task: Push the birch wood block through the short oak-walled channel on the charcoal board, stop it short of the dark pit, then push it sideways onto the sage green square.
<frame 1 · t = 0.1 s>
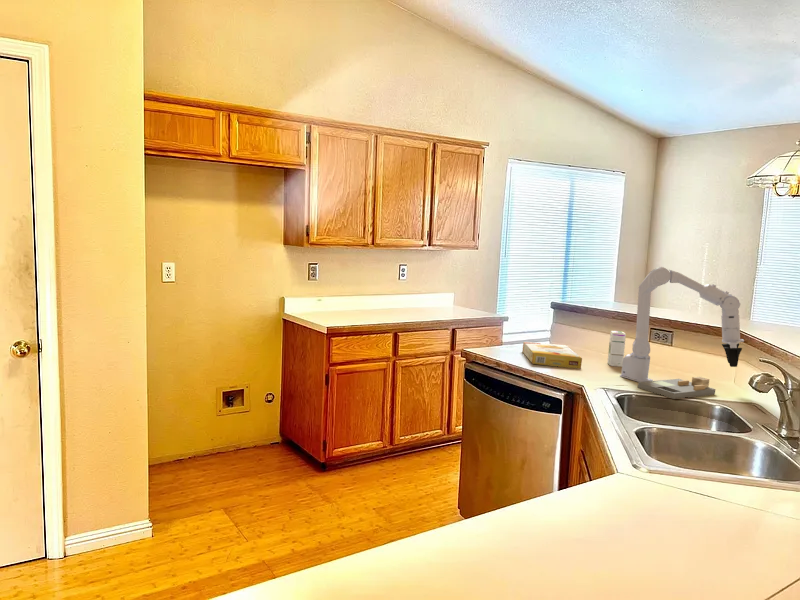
hand: (732, 364, 216), 10 cm above the worktop, tool pointing down, fingers open, 7 cm apart
route board: (676, 391, 213), on the worktop
cereal box: (549, 361, 256), on the worktop
syrup box: (614, 365, 253), on the worktop
birch block: (699, 386, 215), point 2 cm above the worktop, touching route board
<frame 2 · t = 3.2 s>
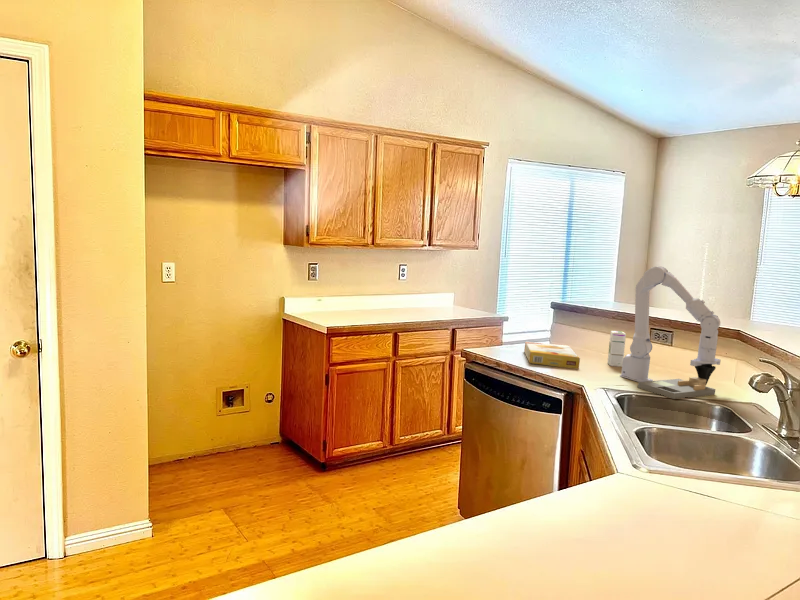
hand: (702, 384, 215), 3 cm above the worktop, tool pointing down, fingers closed
birch block: (696, 386, 214), point 2 cm above the worktop, touching gripper
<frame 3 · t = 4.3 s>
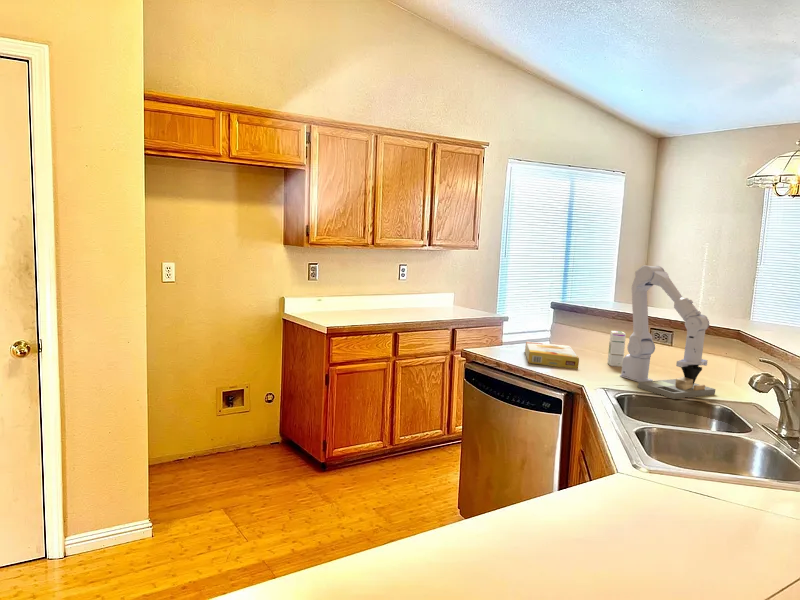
hand: (689, 385, 212), 3 cm above the worktop, tool pointing down, fingers closed
birch block: (684, 387, 210), point 2 cm above the worktop, tilted 8°, touching gripper
everything else where it was.
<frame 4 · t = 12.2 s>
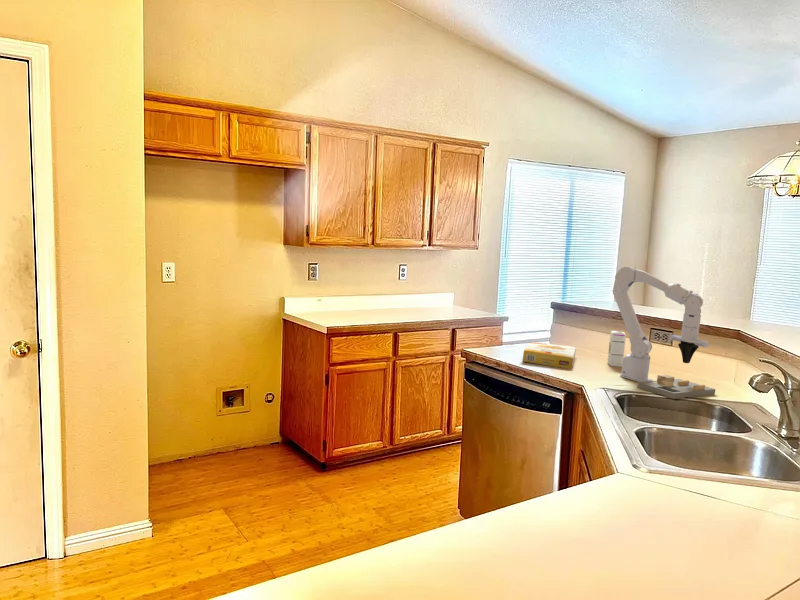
hand: (686, 362, 219), 9 cm above the worktop, tool pointing down, fingers closed
birch block: (665, 384, 214), point 2 cm above the worktop, touching route board
at the end: birch block 0.6 cm from the target spot, point 2.0 cm above the worktop; birch block tilted 0° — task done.
